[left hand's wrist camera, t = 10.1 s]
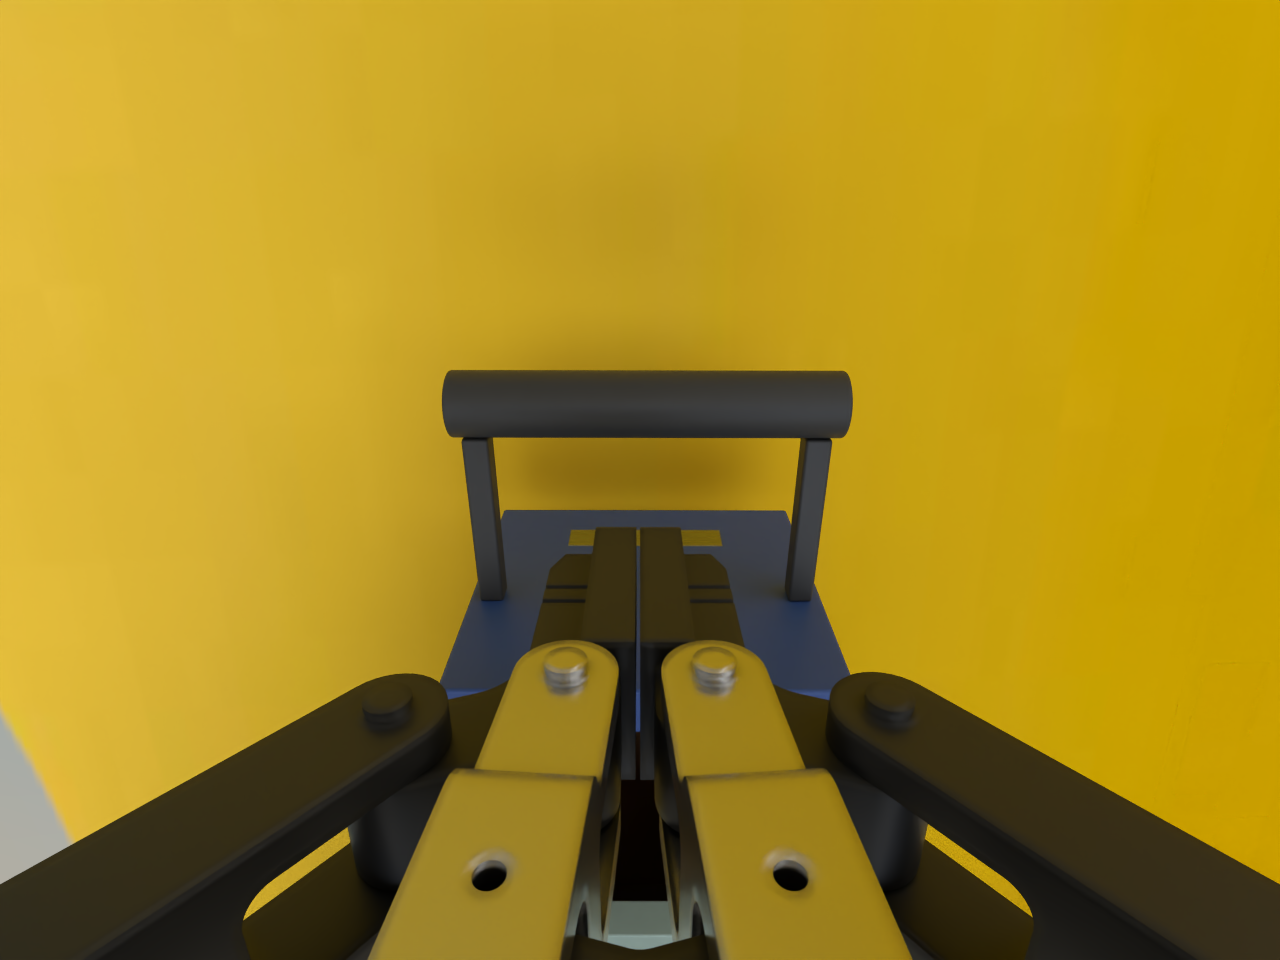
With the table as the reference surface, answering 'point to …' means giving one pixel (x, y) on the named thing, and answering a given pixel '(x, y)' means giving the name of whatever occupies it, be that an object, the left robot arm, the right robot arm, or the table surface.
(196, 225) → the table surface
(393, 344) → the table surface
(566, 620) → the left robot arm
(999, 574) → the table surface
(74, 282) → the table surface
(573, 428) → the drawer
